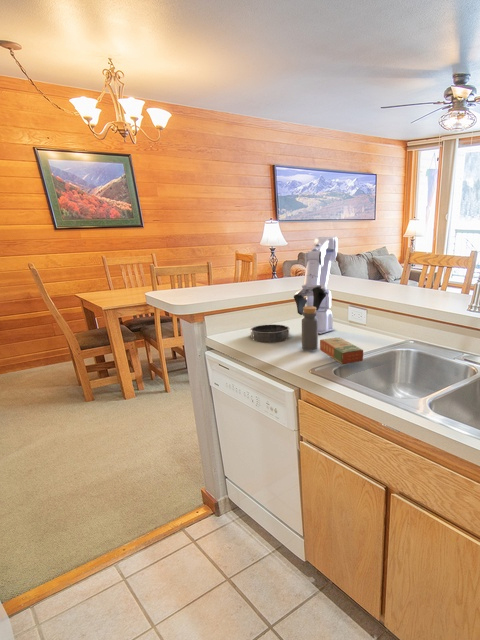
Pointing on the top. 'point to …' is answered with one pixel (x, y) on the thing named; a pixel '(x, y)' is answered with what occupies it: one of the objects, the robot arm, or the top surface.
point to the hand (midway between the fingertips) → (307, 311)
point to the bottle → (309, 328)
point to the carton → (341, 350)
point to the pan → (270, 333)
